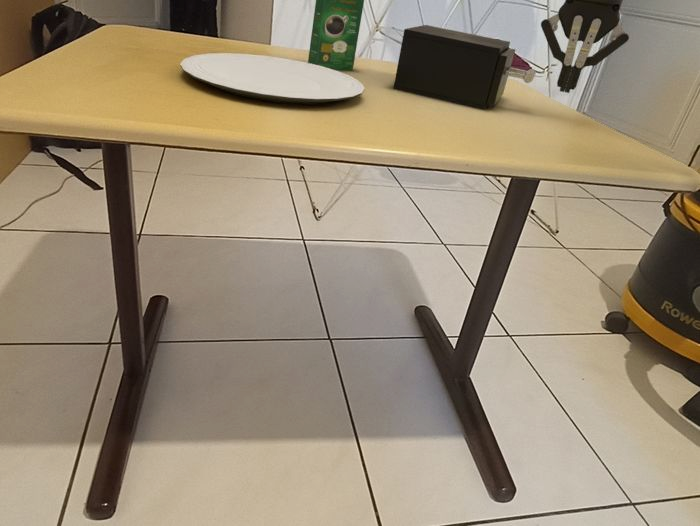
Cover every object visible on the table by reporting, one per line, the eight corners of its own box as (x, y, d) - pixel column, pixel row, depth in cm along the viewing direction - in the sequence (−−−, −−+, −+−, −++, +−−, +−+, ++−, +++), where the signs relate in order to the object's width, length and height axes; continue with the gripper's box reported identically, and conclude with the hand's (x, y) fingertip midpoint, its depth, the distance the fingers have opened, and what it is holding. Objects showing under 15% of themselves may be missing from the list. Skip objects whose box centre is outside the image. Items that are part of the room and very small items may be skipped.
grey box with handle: (528, 99, 94) (541, 54, 91) (521, 113, 84) (537, 62, 80) (427, 77, 98) (436, 33, 95) (408, 87, 88) (418, 37, 84)
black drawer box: (495, 97, 96) (510, 41, 92) (483, 111, 85) (500, 48, 81) (414, 79, 100) (425, 24, 95) (392, 90, 88) (404, 28, 84)
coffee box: (345, 68, 99) (356, -14, 92) (354, 72, 97) (367, -12, 90) (306, 67, 94) (315, -20, 88) (315, 71, 92) (325, -17, 86)
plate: (385, 119, 71) (388, 105, 70) (180, 102, 64) (180, 85, 63) (339, 75, 92) (340, 63, 91) (180, 58, 84) (180, 45, 83)
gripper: (555, -44, 76) (519, 86, 84) (658, -29, 73) (610, 104, 81) (557, -41, 82) (523, 79, 91) (652, -27, 79) (607, 96, 87)
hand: (564, 91), depth 86 cm, fingers closed
